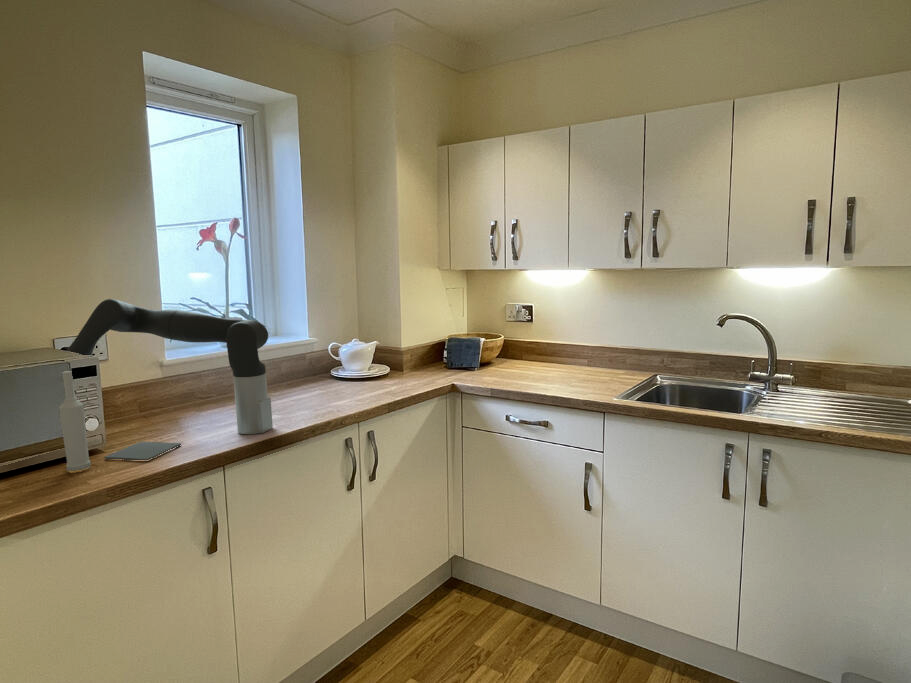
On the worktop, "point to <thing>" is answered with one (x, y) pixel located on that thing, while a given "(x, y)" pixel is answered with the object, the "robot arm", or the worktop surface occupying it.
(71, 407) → the bottle
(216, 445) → the worktop surface
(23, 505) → the worktop surface
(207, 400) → the worktop surface
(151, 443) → the charcoal mat
